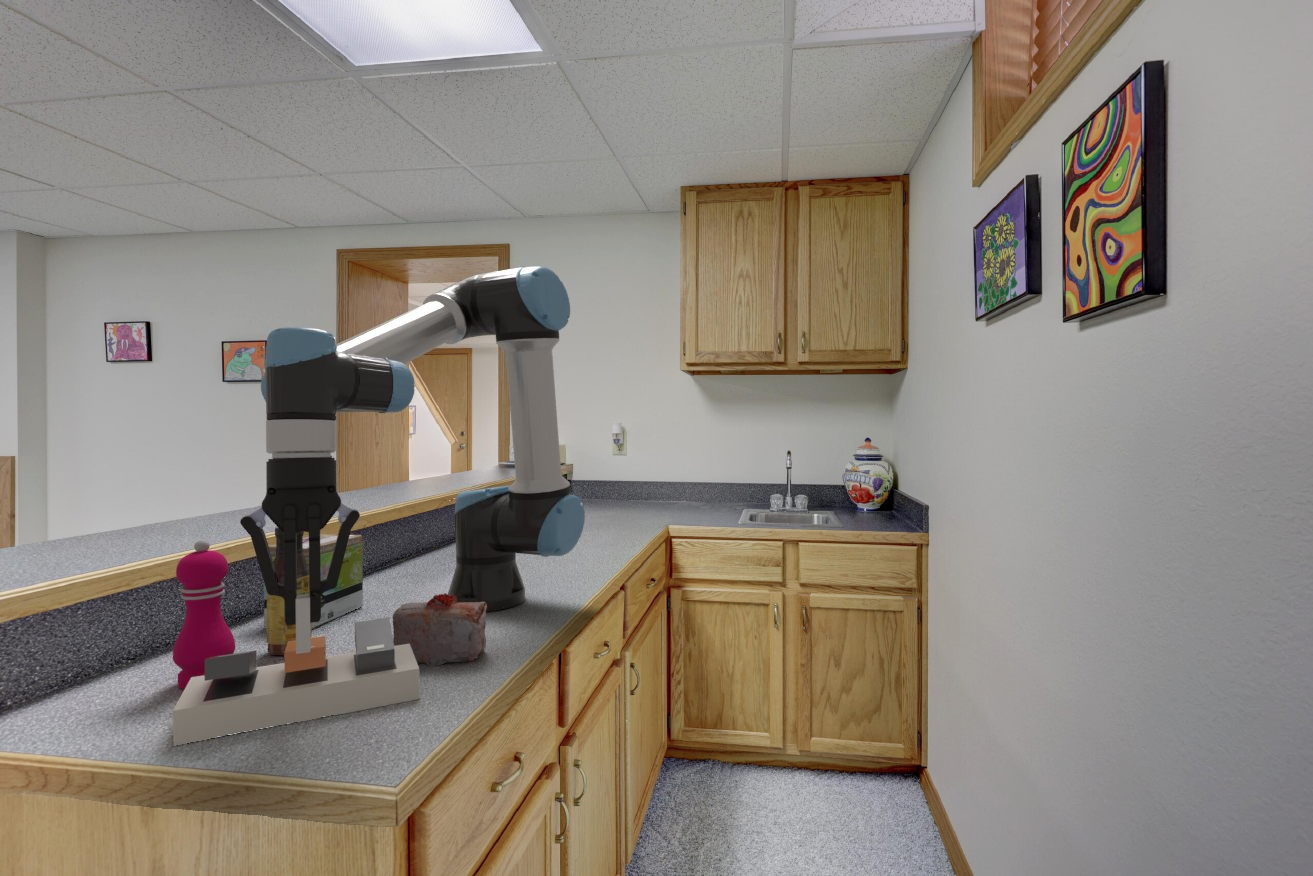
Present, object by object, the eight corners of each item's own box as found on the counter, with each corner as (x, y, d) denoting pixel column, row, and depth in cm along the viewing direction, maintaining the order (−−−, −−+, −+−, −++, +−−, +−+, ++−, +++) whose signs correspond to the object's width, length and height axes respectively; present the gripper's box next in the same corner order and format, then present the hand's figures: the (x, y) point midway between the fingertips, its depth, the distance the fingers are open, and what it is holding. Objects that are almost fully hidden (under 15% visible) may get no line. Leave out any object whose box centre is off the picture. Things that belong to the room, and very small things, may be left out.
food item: (492, 648, 103) (491, 587, 103) (482, 666, 95) (480, 600, 95) (405, 651, 102) (403, 589, 102) (387, 670, 94) (385, 603, 94)
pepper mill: (243, 680, 91) (239, 539, 91) (180, 696, 86) (176, 546, 85) (227, 668, 96) (224, 533, 96) (167, 682, 91) (163, 540, 90)
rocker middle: (325, 654, 87) (325, 635, 87) (325, 666, 80) (325, 646, 80) (288, 659, 85) (288, 640, 85) (284, 673, 78) (284, 652, 78)
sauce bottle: (291, 658, 100) (288, 530, 99) (257, 656, 101) (254, 529, 100) (322, 644, 106) (319, 523, 106) (289, 642, 107) (286, 523, 107)
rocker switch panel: (410, 671, 94) (409, 643, 94) (419, 699, 84) (419, 668, 84) (192, 708, 82) (191, 677, 82) (173, 746, 72) (172, 710, 72)
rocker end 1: (256, 669, 83) (256, 649, 84) (249, 673, 76) (249, 652, 77) (215, 676, 81) (215, 655, 82) (204, 680, 74) (204, 658, 75)
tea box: (313, 631, 113) (311, 547, 113) (262, 629, 115) (260, 546, 115) (365, 607, 128) (363, 532, 128) (319, 605, 130) (317, 532, 130)
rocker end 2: (389, 632, 91) (389, 617, 90) (394, 665, 84) (394, 648, 84) (354, 637, 89) (354, 622, 89) (357, 671, 82) (357, 654, 82)
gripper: (359, 455, 85) (361, 634, 85) (242, 457, 79) (243, 650, 79) (362, 454, 79) (363, 650, 78) (234, 457, 73) (235, 668, 72)
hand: (303, 650), depth 78 cm, fingers closed
